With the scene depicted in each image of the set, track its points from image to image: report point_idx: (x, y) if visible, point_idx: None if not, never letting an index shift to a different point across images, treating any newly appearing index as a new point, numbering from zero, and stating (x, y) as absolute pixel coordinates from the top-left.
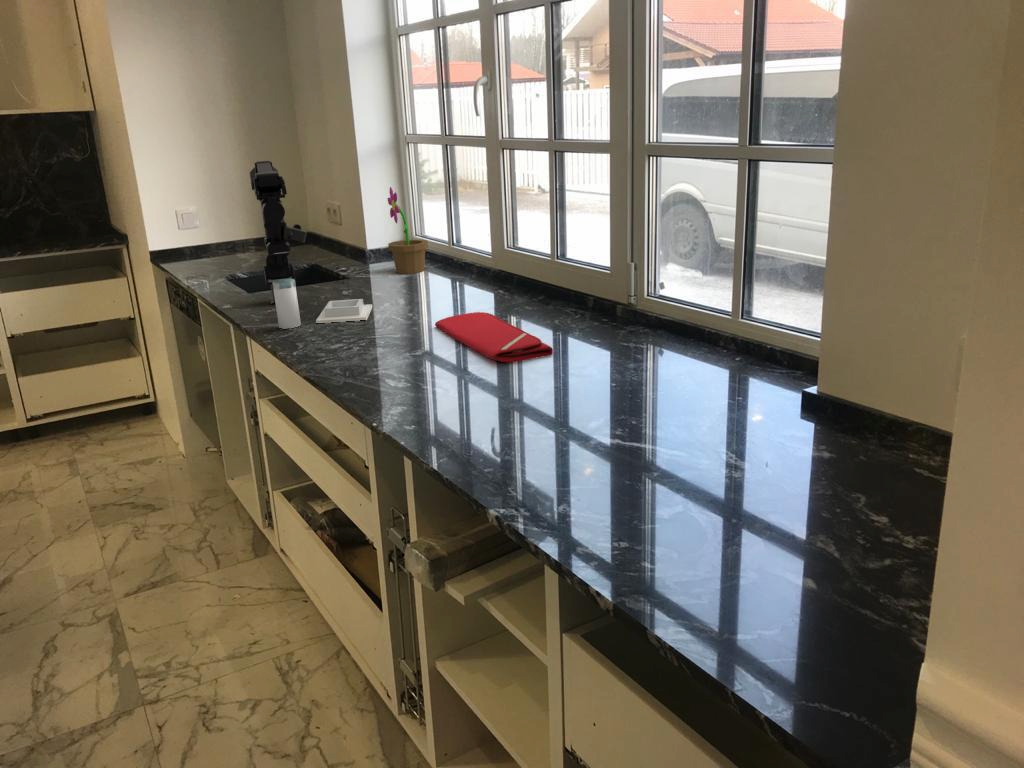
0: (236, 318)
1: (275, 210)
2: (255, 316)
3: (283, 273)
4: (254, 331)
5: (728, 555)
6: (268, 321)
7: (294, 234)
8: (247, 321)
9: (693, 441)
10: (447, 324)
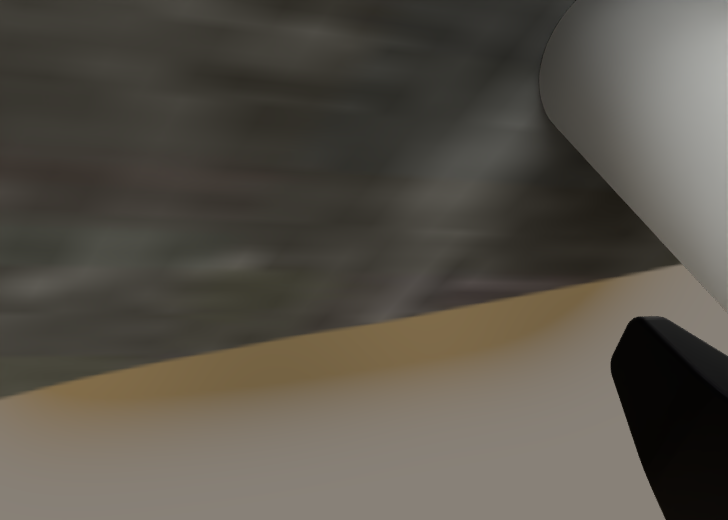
0: (92, 373)
1: None
2: (81, 271)
3: (705, 360)
4: (545, 285)
5: None
6: (320, 196)
7: None
8: (229, 317)
9: None
10: None
